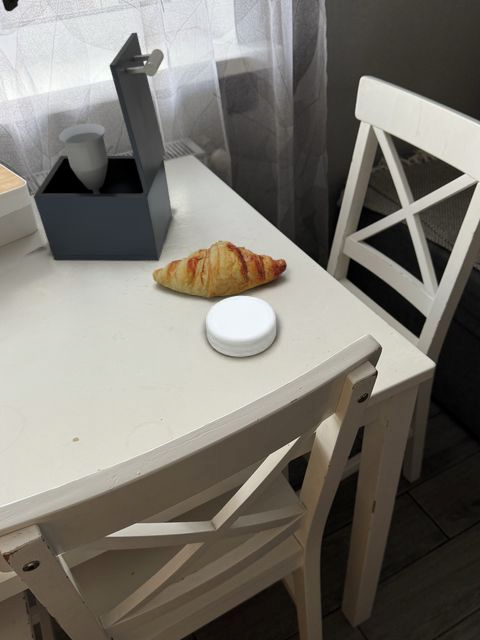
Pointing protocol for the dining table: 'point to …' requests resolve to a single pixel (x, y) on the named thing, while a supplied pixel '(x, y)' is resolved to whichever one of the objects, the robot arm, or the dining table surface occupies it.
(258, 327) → the white short cylinder
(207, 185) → the dining table surface
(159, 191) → the dark grey box
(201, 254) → the croissant
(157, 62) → the lid
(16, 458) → the dining table surface
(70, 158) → the chalice
